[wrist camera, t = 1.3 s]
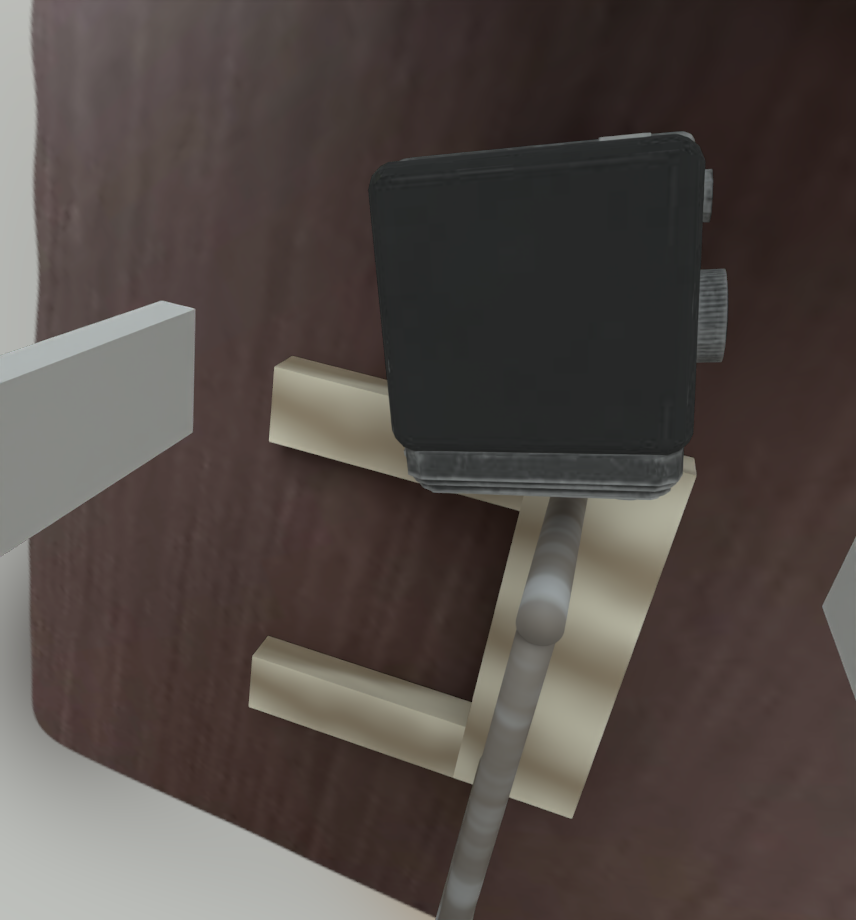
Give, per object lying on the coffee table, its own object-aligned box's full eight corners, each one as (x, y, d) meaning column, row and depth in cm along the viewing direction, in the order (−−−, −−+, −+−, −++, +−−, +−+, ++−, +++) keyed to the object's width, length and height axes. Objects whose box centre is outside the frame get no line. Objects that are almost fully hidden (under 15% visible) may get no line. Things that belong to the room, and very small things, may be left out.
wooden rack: (292, 355, 37) (133, 452, 26) (694, 458, 34) (715, 622, 23) (263, 685, 47) (138, 862, 36) (575, 791, 44) (547, 1026, 32)
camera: (472, 390, 36) (367, 540, 22) (456, 152, 32) (315, 165, 18) (703, 388, 33) (738, 560, 19) (716, 127, 29) (771, 120, 16)
